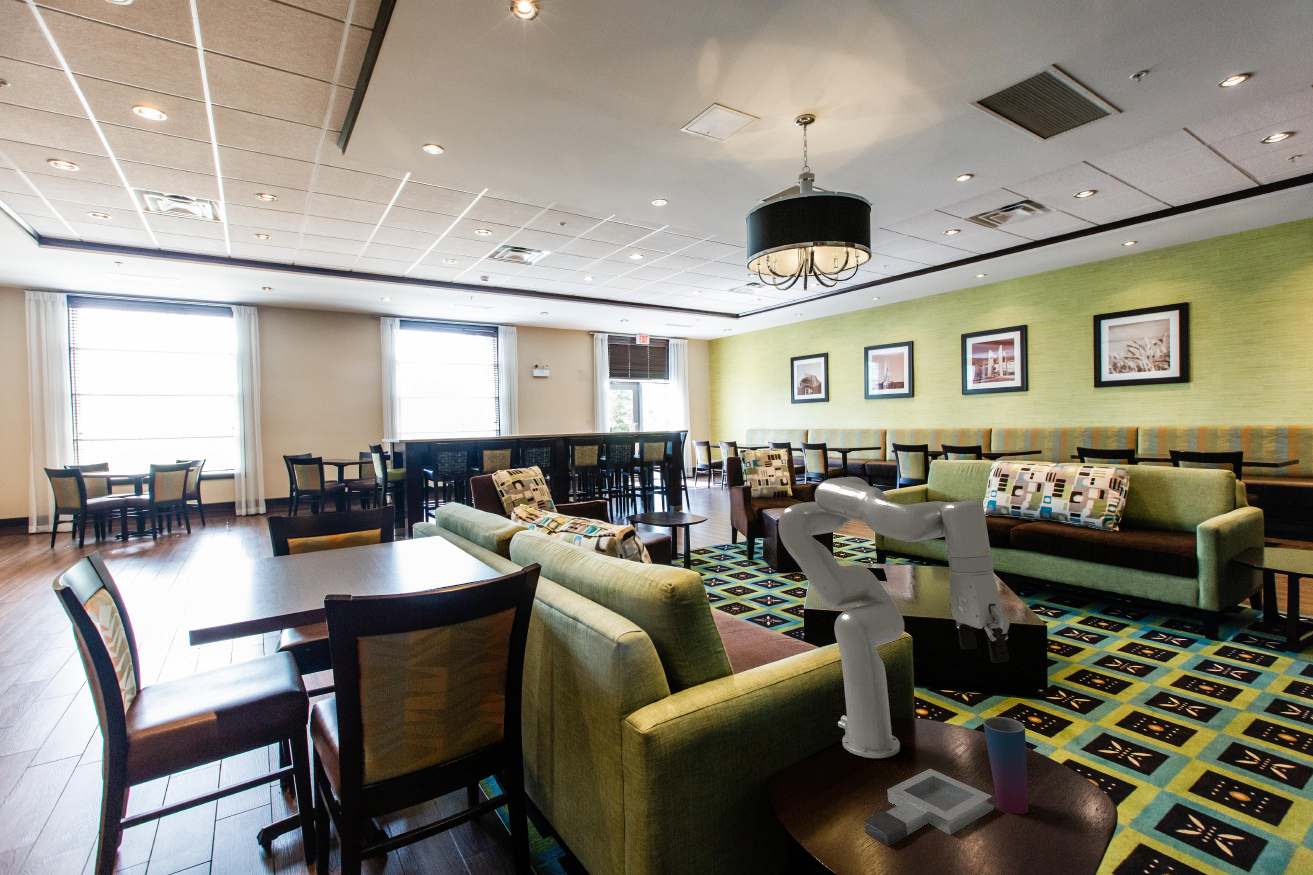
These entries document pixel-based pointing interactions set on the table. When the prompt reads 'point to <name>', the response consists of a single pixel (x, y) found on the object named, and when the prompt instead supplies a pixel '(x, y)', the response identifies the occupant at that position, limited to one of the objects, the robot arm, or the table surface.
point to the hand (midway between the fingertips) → (984, 654)
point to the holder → (928, 807)
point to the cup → (1008, 762)
